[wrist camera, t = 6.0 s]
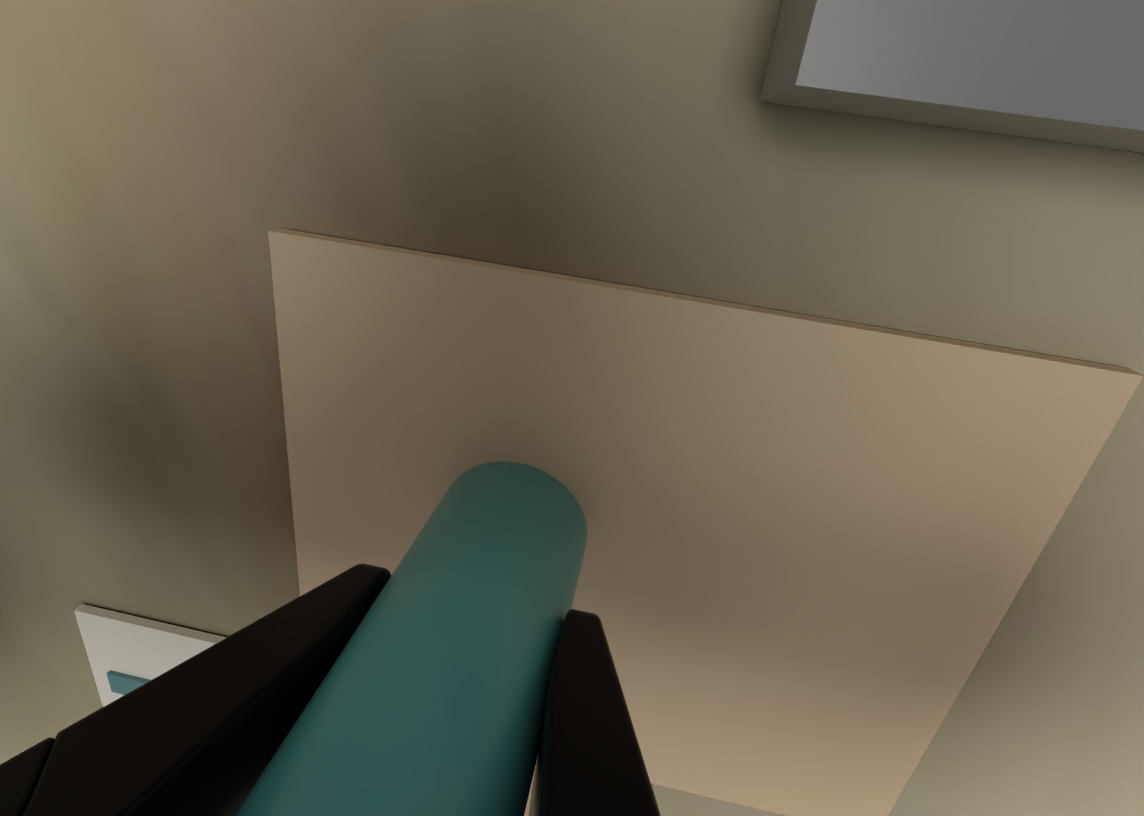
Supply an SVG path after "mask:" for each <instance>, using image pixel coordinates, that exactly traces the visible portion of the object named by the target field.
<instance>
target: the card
mask: <svg viewBox="0 0 1144 816" xmlns="http://www.w3.org/2000/svg"><path fill="white" fill-rule="evenodd" d="M74 613H75V616H76V619H77V623H78V626H79V629H80V633H81V636H82V639H83V642H84V646H85V649H86V652H87V656H88V659H89V662H90V665H91V669H92V672H93V675H94V679H95V682H96V685H97V689H98V692H99V695H100V698H101V702H102V705H103V707H104V706H106V705H108V704H110V703H111V702H113V701H115V700H117V699H119V698H120V697H122V696H124V695H126V694H127V693H129V692H131V691H133V690H135V689H136V688H138V687H140V686H142V685H143V684H145V683H147V682H149V681H151V680H152V679H154V678H156V677H158V676H159V675H161V674H163V673H165V672H167V671H168V670H170V669H172V668H174V667H175V666H177V665H179V664H181V663H183V662H184V661H186V660H188V659H190V658H191V657H193V656H195V655H197V654H198V653H200V652H202V651H204V650H206V649H207V648H209V647H211V646H213V645H214V644H216V643H218V642H220V641H222V640H223V639H225V638H227V637H222V636H218V635H214V634H209V633H205V632H201V631H196V630H192V629H188V628H184V627H179V626H175V625H171V624H166V623H162V622H158V621H153V620H149V619H145V618H140V617H136V616H132V615H128V614H123V613H119V612H115V611H110V610H106V609H102V608H97V607H93V606H89V605H85V604H81V605H80V606H79V607H77V608H76V609H75V610H74Z"/></svg>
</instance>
